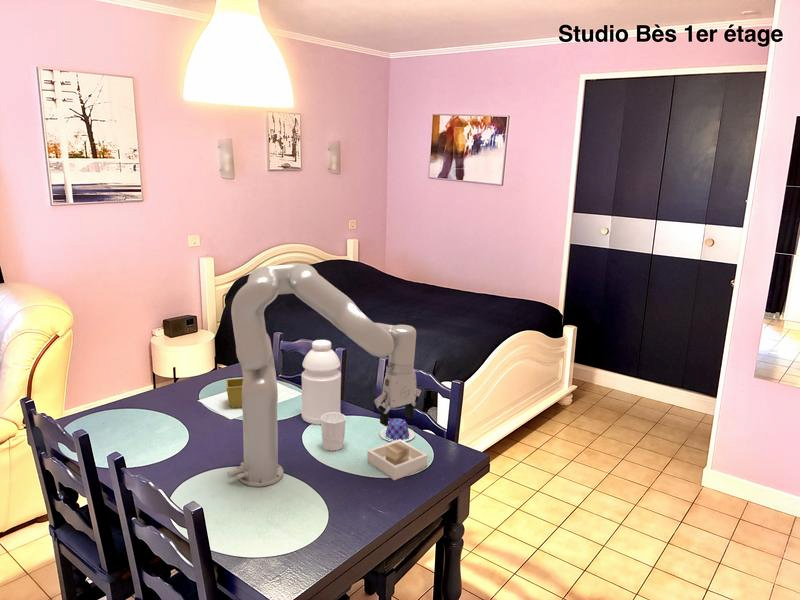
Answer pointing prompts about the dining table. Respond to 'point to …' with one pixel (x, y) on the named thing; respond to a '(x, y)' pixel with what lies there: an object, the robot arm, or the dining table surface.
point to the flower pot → (234, 392)
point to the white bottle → (320, 382)
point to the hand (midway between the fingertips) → (396, 421)
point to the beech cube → (397, 453)
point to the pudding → (397, 430)
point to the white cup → (333, 430)
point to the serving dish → (398, 471)
